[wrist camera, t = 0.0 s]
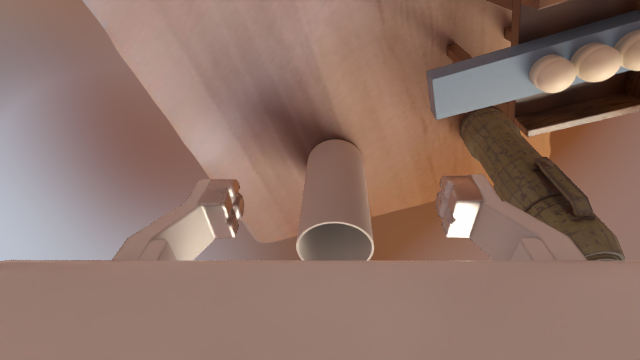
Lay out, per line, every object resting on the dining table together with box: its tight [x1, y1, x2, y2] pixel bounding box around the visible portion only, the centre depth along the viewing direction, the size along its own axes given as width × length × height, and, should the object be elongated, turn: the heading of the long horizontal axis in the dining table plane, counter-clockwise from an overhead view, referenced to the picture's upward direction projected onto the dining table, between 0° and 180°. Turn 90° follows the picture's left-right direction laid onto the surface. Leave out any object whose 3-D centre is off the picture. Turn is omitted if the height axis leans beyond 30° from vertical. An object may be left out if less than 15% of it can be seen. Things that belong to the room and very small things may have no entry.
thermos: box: [460, 106, 625, 261], centre depth 49 cm, size 9×12×35 cm
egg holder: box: [426, 10, 640, 120], centre depth 28 cm, size 18×4×5 cm, turn 108°
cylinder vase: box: [296, 139, 374, 261], centre depth 60 cm, size 12×12×25 cm
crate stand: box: [447, 0, 640, 137], centre depth 38 cm, size 11×13×29 cm
